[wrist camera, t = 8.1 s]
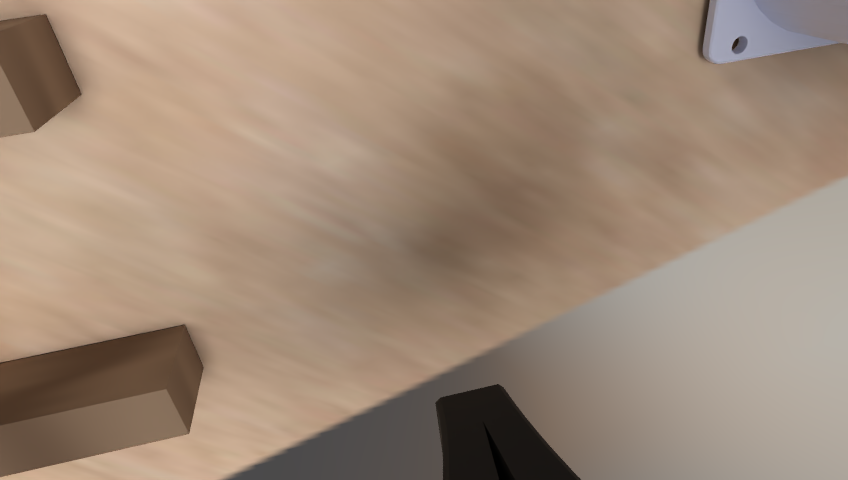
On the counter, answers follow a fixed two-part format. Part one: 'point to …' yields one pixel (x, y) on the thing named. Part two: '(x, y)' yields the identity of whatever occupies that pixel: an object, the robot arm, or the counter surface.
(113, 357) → the parallel wooden rails
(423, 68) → the counter surface
